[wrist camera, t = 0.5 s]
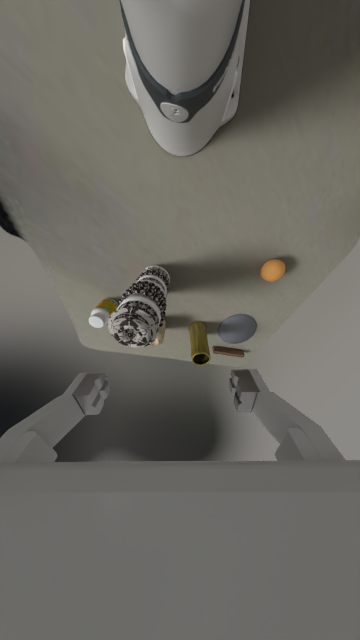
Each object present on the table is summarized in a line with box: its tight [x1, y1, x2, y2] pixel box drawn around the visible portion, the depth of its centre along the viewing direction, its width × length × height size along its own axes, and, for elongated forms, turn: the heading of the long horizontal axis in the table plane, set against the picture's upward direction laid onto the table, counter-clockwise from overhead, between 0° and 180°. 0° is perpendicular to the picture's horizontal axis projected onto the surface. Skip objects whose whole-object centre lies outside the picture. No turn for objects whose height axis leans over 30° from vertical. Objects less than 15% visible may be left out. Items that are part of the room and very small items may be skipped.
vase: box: [189, 322, 211, 365], centre depth 47 cm, size 6×6×14 cm
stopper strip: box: [212, 346, 244, 357], centre depth 58 cm, size 1×12×2 cm, turn 80°
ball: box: [261, 259, 285, 281], centre depth 39 cm, size 6×6×6 cm
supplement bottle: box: [89, 298, 118, 328], centre depth 45 cm, size 5×5×10 cm
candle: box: [150, 319, 166, 345], centre depth 48 cm, size 6×6×10 cm
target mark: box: [219, 314, 256, 344], centre depth 53 cm, size 13×13×1 cm
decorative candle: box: [107, 265, 170, 348], centre depth 33 cm, size 9×9×25 cm
